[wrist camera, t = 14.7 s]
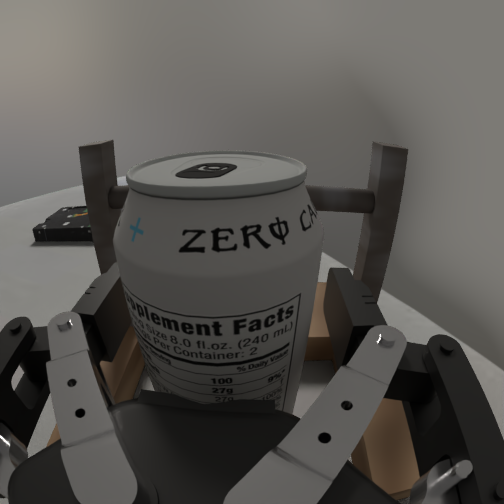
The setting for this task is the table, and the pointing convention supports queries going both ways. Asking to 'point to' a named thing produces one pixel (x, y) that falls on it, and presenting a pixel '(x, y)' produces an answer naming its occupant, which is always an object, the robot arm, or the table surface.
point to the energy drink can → (221, 273)
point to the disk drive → (65, 226)
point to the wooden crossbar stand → (319, 344)
